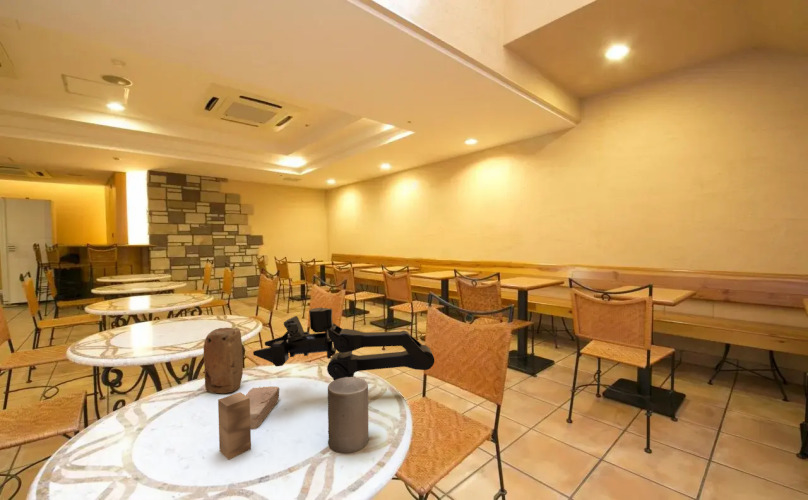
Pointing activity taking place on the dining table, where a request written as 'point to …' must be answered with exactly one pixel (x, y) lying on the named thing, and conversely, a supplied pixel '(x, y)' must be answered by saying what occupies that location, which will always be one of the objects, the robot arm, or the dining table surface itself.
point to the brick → (261, 403)
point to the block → (223, 360)
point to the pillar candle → (348, 414)
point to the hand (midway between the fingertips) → (259, 348)
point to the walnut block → (234, 425)
